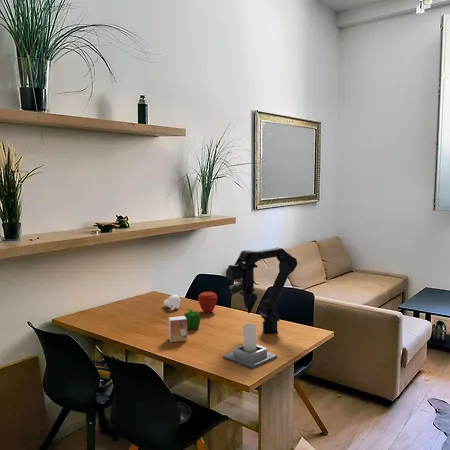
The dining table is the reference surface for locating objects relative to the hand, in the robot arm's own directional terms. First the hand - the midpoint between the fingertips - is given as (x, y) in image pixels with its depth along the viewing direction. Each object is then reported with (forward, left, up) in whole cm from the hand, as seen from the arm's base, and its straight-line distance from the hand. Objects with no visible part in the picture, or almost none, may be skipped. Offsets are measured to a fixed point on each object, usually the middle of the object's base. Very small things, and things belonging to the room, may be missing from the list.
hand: (247, 310), depth 206 cm
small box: (+33, 0, -13) cm, 36 cm away
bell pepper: (+26, -16, -13) cm, 33 cm away
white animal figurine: (+38, -52, -13) cm, 66 cm away
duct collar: (+2, +24, -13) cm, 28 cm away
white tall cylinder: (+2, +24, -12) cm, 27 cm away
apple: (+17, -42, -13) cm, 47 cm away
